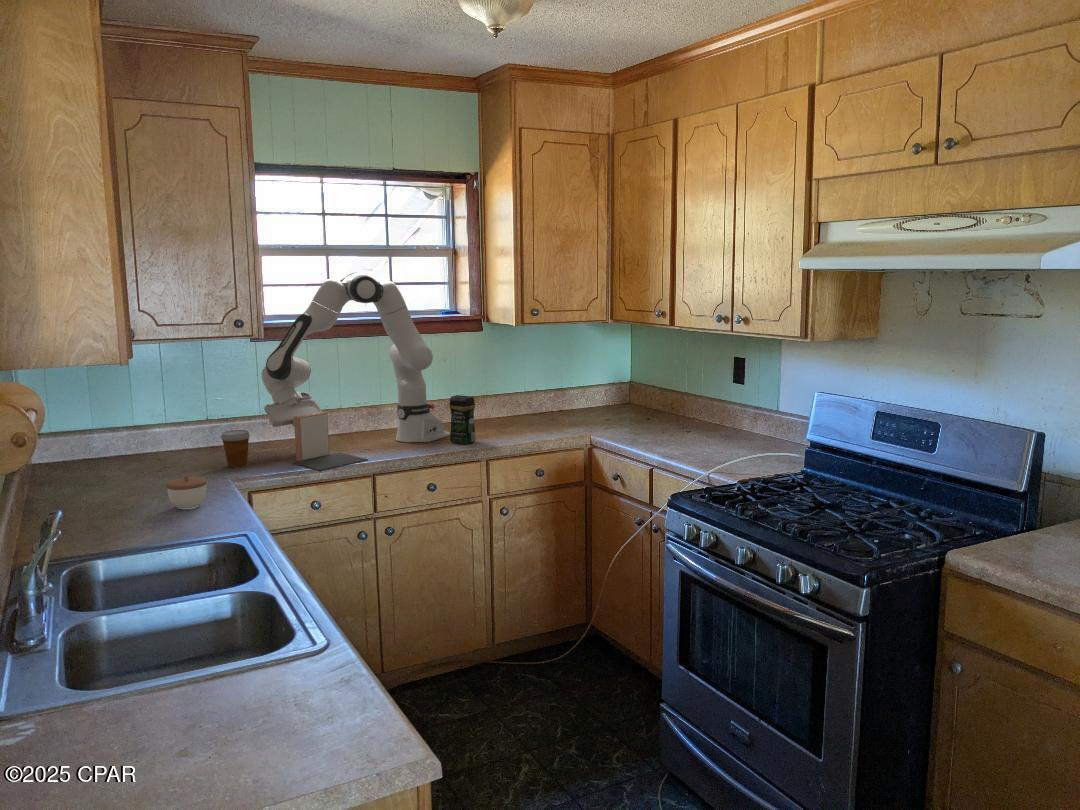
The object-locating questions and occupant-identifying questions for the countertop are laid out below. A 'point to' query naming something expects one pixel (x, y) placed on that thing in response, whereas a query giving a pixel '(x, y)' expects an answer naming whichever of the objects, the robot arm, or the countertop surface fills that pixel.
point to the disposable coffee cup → (236, 447)
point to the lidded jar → (186, 491)
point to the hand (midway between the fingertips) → (304, 430)
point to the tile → (311, 435)
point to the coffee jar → (462, 419)
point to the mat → (329, 461)
